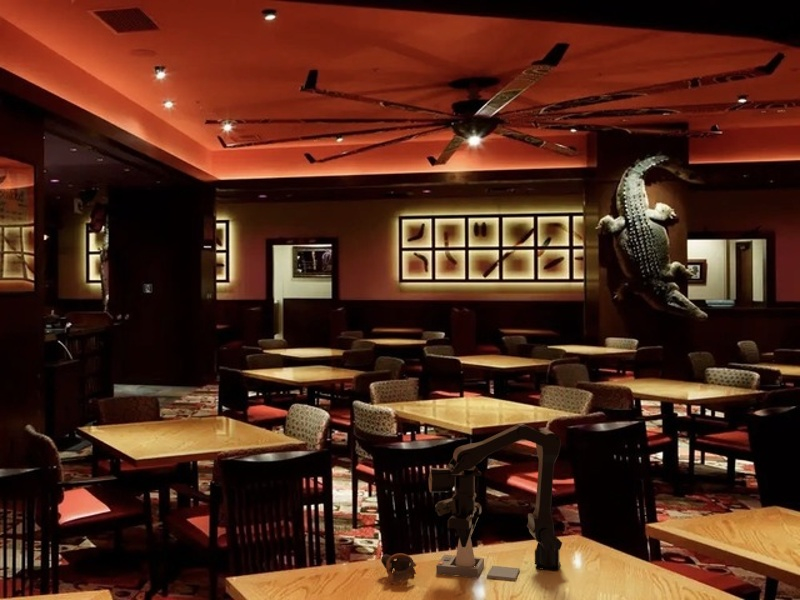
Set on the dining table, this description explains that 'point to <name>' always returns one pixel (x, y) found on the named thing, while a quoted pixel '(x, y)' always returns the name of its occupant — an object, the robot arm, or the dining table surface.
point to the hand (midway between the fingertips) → (465, 544)
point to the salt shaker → (465, 554)
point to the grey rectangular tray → (458, 567)
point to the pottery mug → (398, 567)
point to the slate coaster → (503, 573)
